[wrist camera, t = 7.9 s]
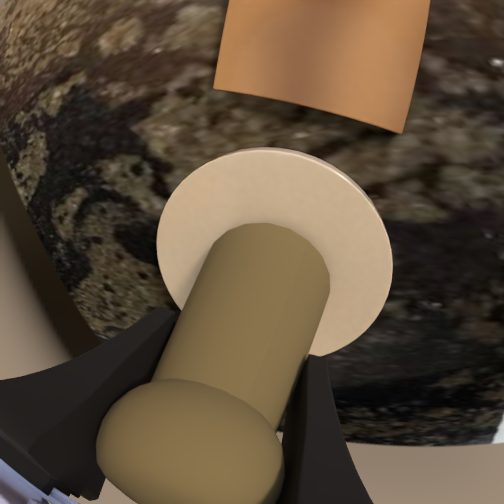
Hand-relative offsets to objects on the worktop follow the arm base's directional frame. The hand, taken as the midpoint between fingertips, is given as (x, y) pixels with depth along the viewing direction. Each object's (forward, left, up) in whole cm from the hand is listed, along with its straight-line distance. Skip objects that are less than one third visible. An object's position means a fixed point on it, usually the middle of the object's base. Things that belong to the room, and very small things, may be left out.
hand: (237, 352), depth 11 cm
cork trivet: (0, -12, -6) cm, 13 cm away
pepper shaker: (0, 0, -5) cm, 5 cm away
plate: (0, 0, -6) cm, 6 cm away
